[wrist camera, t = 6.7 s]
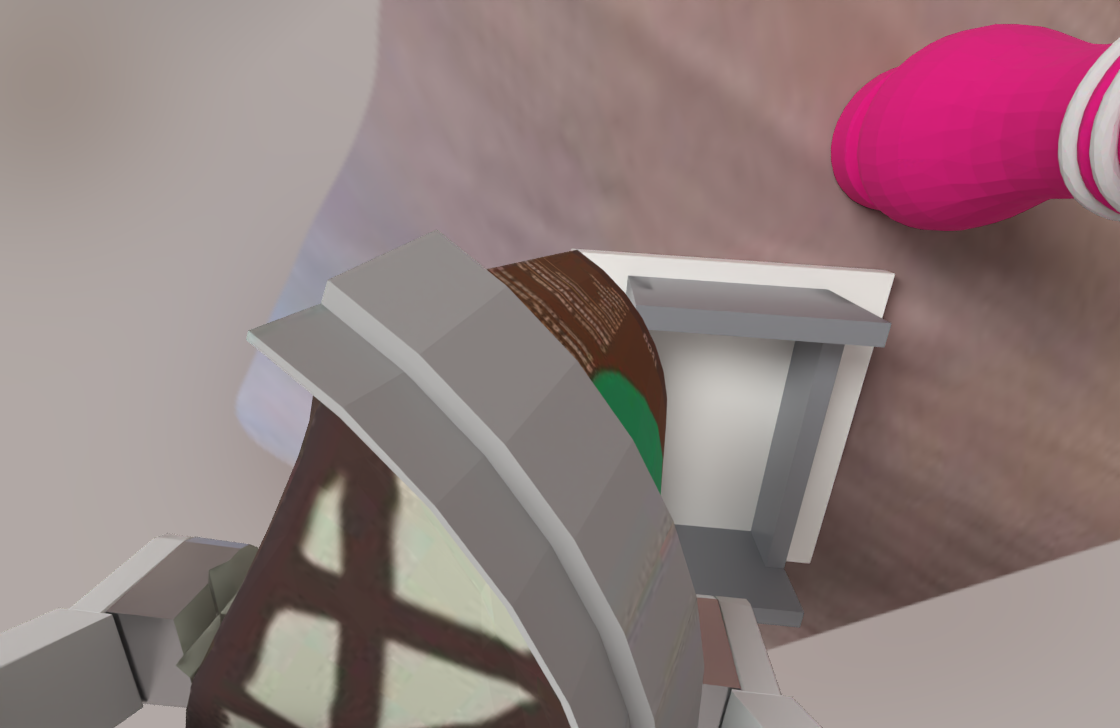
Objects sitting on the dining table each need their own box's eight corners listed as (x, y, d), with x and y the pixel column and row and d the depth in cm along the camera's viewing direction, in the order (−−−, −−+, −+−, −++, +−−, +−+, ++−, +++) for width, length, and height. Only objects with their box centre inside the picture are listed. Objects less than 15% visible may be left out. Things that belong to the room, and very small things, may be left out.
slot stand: (884, 269, 26) (979, 304, 20) (804, 552, 33) (855, 648, 26) (571, 248, 27) (563, 274, 20) (553, 528, 33) (542, 616, 27)
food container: (564, 627, 17) (385, 1123, 8) (416, 519, 18) (91, 880, 9) (831, 343, 12) (1157, 894, 3) (608, 195, 12) (265, 262, 3)
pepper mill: (986, 192, 25) (2192, 273, 6) (829, 239, 26) (1425, 426, 7) (979, 26, 22) (2901, -685, 4) (807, 86, 24) (1595, -218, 5)
